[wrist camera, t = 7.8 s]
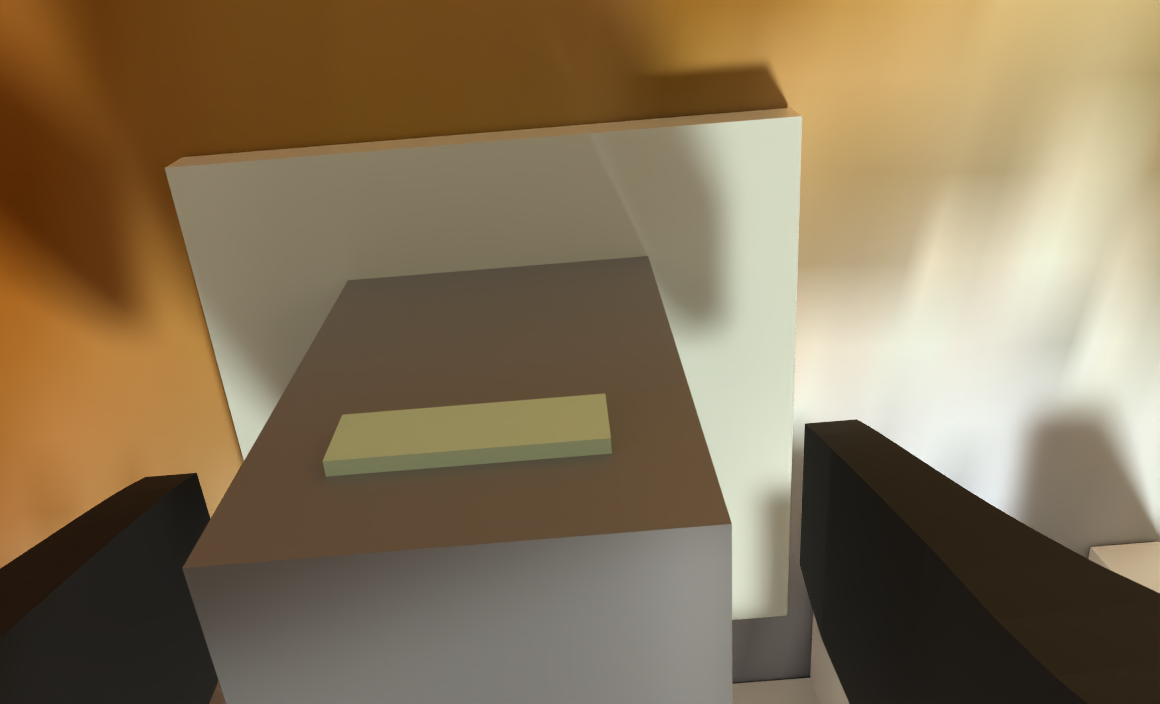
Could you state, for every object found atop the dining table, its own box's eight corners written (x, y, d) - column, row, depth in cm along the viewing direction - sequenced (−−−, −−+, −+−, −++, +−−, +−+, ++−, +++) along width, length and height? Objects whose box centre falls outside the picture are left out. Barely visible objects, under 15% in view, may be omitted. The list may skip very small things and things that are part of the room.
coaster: (778, 591, 15) (786, 615, 15) (305, 629, 15) (296, 655, 15) (790, 106, 12) (801, 116, 11) (182, 156, 12) (164, 167, 11)
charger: (666, 675, 15) (733, 1093, 10) (428, 694, 15) (361, 1121, 10) (647, 245, 12) (731, 506, 6) (345, 269, 12) (176, 552, 6)
